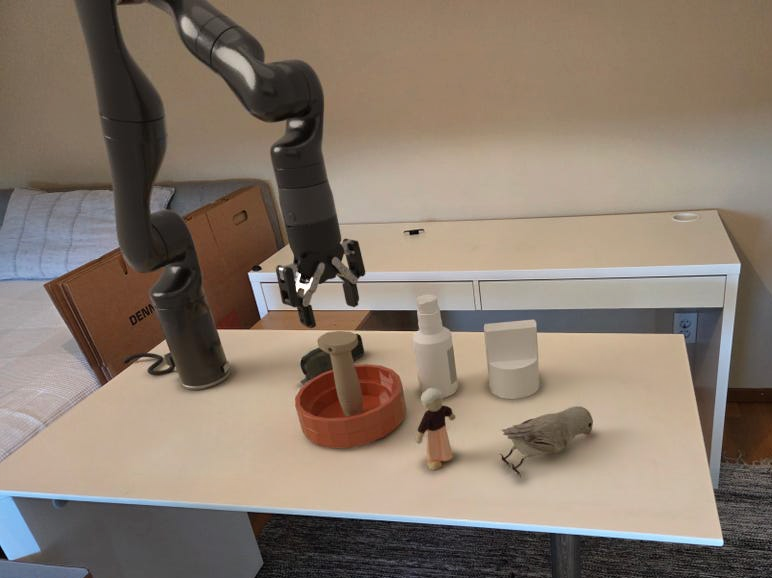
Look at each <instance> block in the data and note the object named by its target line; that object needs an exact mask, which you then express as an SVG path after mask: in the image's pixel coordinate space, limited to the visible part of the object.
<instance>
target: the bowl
mask: <svg viewBox="0 0 772 578" xmlns="http://www.w3.org/2000/svg"><path fill="white" fill-rule="evenodd" d="M354 366H355V369H356V373H357V376H358V379H359V383H360V387H361V392H362V400H363V407H362V408H363V409H364V413H363V414H359V415H355V416H350V417H345V416H344V413H343V409H342V407H341V405H340V402H339V399H338V395H337V391H336V385H335V379H334V373H333V370H330V371H327V372H325V373H322V374H320V375H319V376H317V377H315V378H313V379H311V380H309V381H307V382H305V383H304V385H303V386H302V387H300V389H299V390H298V392H297V394H296V395H295V398H294V404H295V410H296V413H297V417H298V421H299V425H300V428H301V432H302V433H303V435H304V437H306V439H307V440H308V441H309V442H311V443H313V444H315V445H316V446H317V445H318V446H319V447H320V446H321V447H326V448H333V449H340V448H341V449H343V448H353V447H358V446H362V445H366V444H370V443H372V442H374V441H376V440H379V439H381V438H384V437H386V436H387V435H389V434H390V433H392V432H393V431H394V430H396V429H397V428H398V427H399V425H400V424H401V423H402V422H403V420H404V419H405V416H406V412H407V405H406V397H405V393H404V387H403V383H402V379H401V376H400V375H399V374H398V373H397V372H396V371H394V369H392V368H389V367H387V366H383V365H378V364H370V363H365V364H364V363H362V364H361V363H360V364H354Z"/></svg>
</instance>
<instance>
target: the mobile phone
mask: <svg viewBox="0 0 772 578" xmlns="http://www.w3.org/2000/svg"><path fill="white" fill-rule="evenodd" d="M355 334H356V335H357V338H358V344H357V346H356V347H355V348H354V349H352V350H351V354H352V358H353V362H355V361H357V360H359V359H360V358H362V357H363V356H364V355H365V348H364V344H363V339H362V336H361V334H359V333H355ZM300 358H301V359H300V362H299V365H300V368H301V369H300V370H301V372H302V374H303V375H304V376H305V377H304V378H303V379H301V380H300V381H299V383H300V384H301V385H303V384H306V383H307V382H308V381H310V380H311V379H313V378H315V377H317V376H319V375H320V374H322V373H325V372H327V371H330V370H333V367H332V361H331V357H330V354H329V353H327V352H325V351H323V350H321V349H320V348H319V347H316V348H313V349H312V350H310V351H308V352H307V353H306V354H305V355H303V356H302V357H300Z"/></svg>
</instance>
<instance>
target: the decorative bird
mask: <svg viewBox="0 0 772 578" xmlns="http://www.w3.org/2000/svg"><path fill="white" fill-rule="evenodd" d="M593 426H594V419H593V416H592V413H591V412H590V411H589V410H588V409H587V408H585V407H583V406H570V407H569V408H566V409H564V410H562V411H559V412H553V413H547V414H543V415H539V416H536V417H535V418H529V419H526V420H525V421H523V422H521V423H519V424H513V425H512V426H510V427H506V428H501V431H502V432H503V434H502V435H503V436H506V439H508V440H510V441H511V442H512V444H513V446H511V449H510V451H509V453H508V454H507V455H505V456H504V455H503V454H502V453H499V455H500V456H501V458H500V459H501V461H503V462H504V463H505V464H506V466H508V467H509V468H511V469H512V471H514V472H515V473H516V475H517V476H519V477H520V478H522V475H521V473H520V471H519V470H518V468H519V467H520V466H522V464H523V463H524V461H525V460H526V459H528V458H531V459H532V458H536V457H541V456H546V455H549V454H557V453H561V452H562V451H563V450H564V449H565V448H566V447H567V446H568V445H569V444H570V443H571V442H572V441H573V440H574V439H575V438H576V436H578V435H581V434H585V435H590V434H591V433H592V430H593ZM516 449H517V451H518V452H519V453H520V454H522V455H523V456H522V458H521V460H520V462H519V463H518V464H517V465H514V463H511V462H509V461H508V460H507V459H508V458H509V457H510V456H511V455H512V454H513V452H514V450H516ZM510 465H511V466H510Z"/></svg>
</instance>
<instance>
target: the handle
mask: <svg viewBox="0 0 772 578" xmlns="http://www.w3.org/2000/svg"><path fill="white" fill-rule="evenodd" d="M356 334H357V333H354V332H351V331H345V330H344V331H343V330H336V331H328V332H325V333H323V334H321V335H320V336H318V338H317V340H316V342H317V345H318V346H317V347H318V348H320V349H321V350H323V351H325V352H327V353H329V354H330V357H331V361H332V367H333V373H334V379H335V385H336V391H337V395H338V399H339V402H340V405H341V407H342V409H343V413H344V416H345V417H350V416H355V415H359V414H363V413H364V409H363V408H362V407H363V400H362V392H361V387H360V383H359V379H358V376H357V373H356V369H355V366H354V365H355V361H353V358H352V354H351V350H352V349H354V348H355V347H356V346H357V344H358V338H357V335H356Z"/></svg>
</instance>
